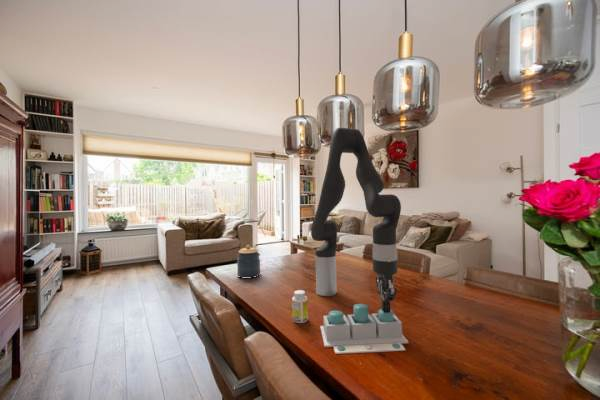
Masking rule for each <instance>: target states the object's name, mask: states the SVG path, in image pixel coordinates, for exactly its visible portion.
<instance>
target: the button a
mask: <svg viewBox="0 0 600 400" xmlns="http://www.w3.org/2000/svg"><path fill="white" fill-rule="evenodd" d="M343 315H344V312H343V311H341V310H331V311H330V310H329V312H328V316H329V325H330V324H344V323H343Z"/></svg>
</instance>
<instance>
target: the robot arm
mask: <svg viewBox="0 0 600 400" xmlns="http://www.w3.org/2000/svg"><path fill="white" fill-rule="evenodd" d="M329 145H330V146H329V150H328V151H329V152H328V158H327V159H328V160H327V165H326V171H325V174H324V178H323V182H322V186H321V190H320V196H319V200H318V201H319V202H318V205H317V208H316V212H315V214H314V217H313V220H312V223H311V228H310V235H311V239H312V240H313V241H316V242H324V243H323V244H322V245H320V246H318V247H317V248H316V249H315V285H316V286H315V287H316V288H315V290H316V294H317V295H319V296H321V297H331V296H332V297H333V296H335V295H336V294H337V261H336V260H337V259H336V257H337V256H336V255H337V254H336V253H337V247H338V246H337V243H338V241H337V239H338V226H337V224H336V222H335V221H334V220H332V219H327V218H328V216H329V214H331V212H332V211H334V209H336V207H337V206H338V204H340V203H341V201H342V199H343V196H344V193H345V192H344V191H345V189H346V180H345V176H344V174H343V171H342V168H341V160H342V159H341V158H342V155H343V154H353V155H354V156H355V157H356V159H357V163H356V167H355V177H356V180H357V181H358V183H359V185H360V186H359V187H360V188H361V189H362V192H363V197H364V202H365V207H366V208H365V209H366V212H367V213H368V214H369V215H371V216H372V217H374V218H382V220H381V222H380V223H377V224H375V225H374V226H373V227H372V271H373V273H375V274H377V277H375V282H376V288H377V291H378V295H379V296H380V299H381V309H382V311H383V312H384V313H387V312H390V310H391V302H394V301H395V300H394V299H395V298H396V295H397V292H398V289H397V288H396V287H394V284H395V282H394V277H393V276H394V275H396V274H397V273H398V268H399V267H398V265H399V264H398V247H397V228H398V224H399V219H400V216H401V211H402V203H401V200H400V199H399V197H398V196H397V195H395V194H380V193H381V192H382V191H383V190H384V188H385V185H384V181H383V180H382V178H381V176H380V174H379V173H378V171H377V170H376V167H375V165H374V163H373V160H372V159H371V156H370V152H369V150H368V147H367V144H366V141H365V138H364V136H363V134H362V131H360V130H358V129H357V128H349V127H348V128H347V127H337V128H335V129H334V130H333V132H332V136H331V139H330V144H329Z"/></svg>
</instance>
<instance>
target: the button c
mask: <svg viewBox="0 0 600 400" xmlns="http://www.w3.org/2000/svg"><path fill="white" fill-rule="evenodd" d="M377 311H378V312H377V313H378V318H379V321H380V322H394V315H395V314H394V310H392V309H390V312H387V313H384V312H383V311H382V308H380V309H378V310H377Z"/></svg>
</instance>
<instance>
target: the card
mask: <svg viewBox="0 0 600 400" xmlns="http://www.w3.org/2000/svg"><path fill="white" fill-rule="evenodd" d="M332 348H333V351H334V353H335V355H339V354H340V355H341V354H359V353H360V354H361V353H362V354H363V353H380V352H381V353H382V352H399V351H400V352H402V351H406V348H405V347H404V344H403V343H402V344H401V343H390V344H369V345H348V346H333V347H332Z"/></svg>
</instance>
